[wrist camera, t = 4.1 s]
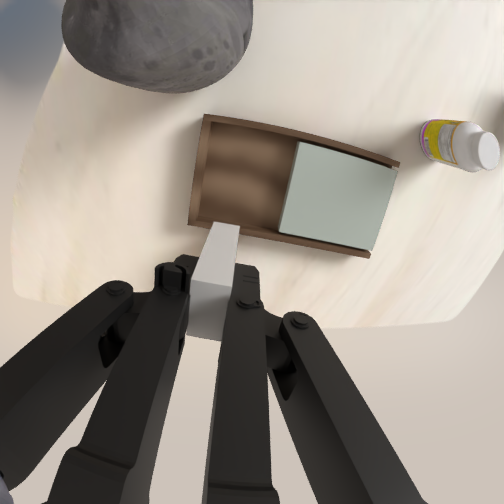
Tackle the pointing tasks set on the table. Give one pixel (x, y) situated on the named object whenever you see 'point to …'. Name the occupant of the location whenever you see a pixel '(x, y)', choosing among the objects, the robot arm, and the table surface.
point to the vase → (158, 40)
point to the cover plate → (335, 197)
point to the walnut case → (255, 177)
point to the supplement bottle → (460, 145)
